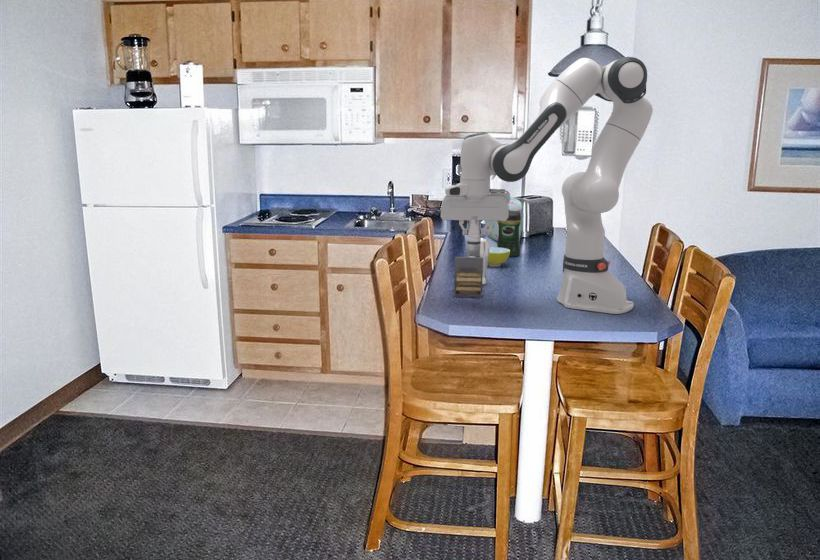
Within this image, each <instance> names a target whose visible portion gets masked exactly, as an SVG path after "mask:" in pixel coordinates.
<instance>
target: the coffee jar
mask: <svg viewBox="0 0 820 560" xmlns="http://www.w3.org/2000/svg"><path fill="white" fill-rule="evenodd" d="M497 222H498V225H499V233H498V241H496V242H497V244H496V247H498V248H506V249H509V250H510V254H509V257H510V258H512V257H519V256H520V253H521V246H520V241H519V226H520V223H521V215H520V212H519V211H508V219H507V220H506V221H497ZM509 257H508V258H509Z"/></svg>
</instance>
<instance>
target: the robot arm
mask: <svg viewBox="0 0 820 560" xmlns="http://www.w3.org/2000/svg"><path fill="white" fill-rule="evenodd" d="M647 69H648V68H647V66H646V65H645V63H644V62H643V60H640V59H639V58H637V57H634V56H623V57H620V58H619V59H615V60H613V61H612V62H610V63H608V64H606V65H604V66H603V65H600V64H598V63H597V62H596V61H595V60H593V59H592V58H588V57H581V58H578V59H577V60H575V61H574V62H573V63H572V64H570V65H568V67H567V68H565V69H564V70H563V71H562V72H561V73H560V74H559V75H558V76H557V77H556V78H555V79H554V80H553V81H552V82H551V83H550V84H549V86H548V87H547V88H546V90H545V91H544V92H543V95H542V96H541V97H540V100H539V112H538V114H537V117H536V118H535V119H534V120H533V122H532V123H531V124H530V125H528V127H527V129H526V130H524V132H523V133H522V135H520V137H518V139H517V140H516V141H514V142H512V143H511V144H508V143H506V142H504V141H501V140H499V139H497V138H495V137H494V136H492V135H491V134H489V132H484V131H483V132H476V133H471V134H468V135H466V136H465V137H464V138H463V139H462V141H461V148H460V168H461V173H460V177H459V178H460V179H459V183H454V184H452V185H449V186H447V187H445V189H444V193H445V196H444V197H443V199H442V201H441V207H440V218H441V220H443V221H459V222H458V224H459V226H460V228H461V230H462V236H467V228H465V226H464V225H463V224H464V223H465V221H468V220H471V218H472V217H477V219H478V220H481V221H484V224H485V225H484V227H483V228H481V236H486V233H487V231H486V230H488V228H487V227H488V226H489V221H490V220H493V221H506V220H507V219H508V203H509V202H510V197H511V194H510V192H509V191H508V190H506V189H504V188H501V189H498V188H491V176H497V177H498V178H499V179H500V180H502V181H505V182H507V183H515V182H517V181H520V180H521V179H523V178H524V177H525V176H526V175H527V173H528V172H529V170H530V167H531V164H532V161H533V159H534V158H535V156H536V155H537V153H538V152H539V151H540V150H541V148H542V147H543V146H544V144H546V142H547V141H548V140H549V139H550V138H551V137H552V136H553V135H554V133H556V131H557V130H558V129H559V128H560V127H562V125H564V124H565V123H566V122H568V121H569V120H570V119H571V118H572V117H573V116H574V115H575V114H577V113H578V111H579V110H580V109H581V108H583V106H584V105H585V104H586V103H587V102H588V100H590V98H592V97H593V96H596V97H597V98H600V100H601V99H602V100H604V101H606V102H612V105H613V106H612V112H610V113H611V114H610V116H609V118H608V119H607V121H606V122H605V124H604V126H603V127H602V129H601V132H600V133H599V135H598V137H597V138H596V141H595V142H594V144H593V146H592V148H591V156H590V160H589V163H588V166H587V169H586V171H581V172H580V171H578V172H575V173H574V174H573V173H572V174H570V175H569V176H567V178H565V180H564V182H563V183H562V186H561V193H562V196H563V201H564V213H565V221H566V222H565V223H566V224H565V225H566V237H565V238H566V240H565V254H564V255H563V259H562V274H563V275H562V280H561V285H560V289H559V292H558V296H557V298H556V301H557V302H558V303H560V304H562V305H563V306H564V307H565V308H568V309H573V310H583V311H590V312H596V313H604V314H613V315H619V314H625V313H627V312H630V311H631V310H632V309H634V306H635V305H634V302H633V301H632V300H631V301H630V300H627V289H626V286H625V285H624V283H622V282H621V281H620V280H619V279H618V278H617V277H615V276H614V274H613V273H611V272H610V271H609V265H611V260H607V259H606V258H605V257H604V249H605V247H604V246H605V236H606V235H605V234H606V231H605V228H604V224H603V220H602V214H603V213H607V212H609V211H611V210H612V209H614V207H616V206H617V204H618V202H619V198H620V192H619V189H620V186H621V183H622V180H623V179H622V178H623V177H624V173H625V171H626V168H627V166H628V163H629V162H630V160H631V158H632V156H633V155H634V153H635V151H636V149H637V147H638V145H639V144H640V142H641V140H642V139H643V137H644V134H645V133H646V130H647V128H648V126H649V123H650V121H651V118H652V115H653V111H654V109H653V105H652V104H651V102H650V101H649V100H648V99H647V98H646V97H645V95H646V94H647V83H648V70H647Z"/></svg>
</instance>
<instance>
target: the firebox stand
mask: <svg viewBox="0 0 820 560" xmlns="http://www.w3.org/2000/svg"><path fill="white" fill-rule="evenodd" d="M482 277H483V257H469V256H455V257H454V280H453V281H454V283H453V284H454V286H453V287H454V289H453V297H454V298H473V297H478V298H477V299H483V296H484V291H483V285H482Z"/></svg>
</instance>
